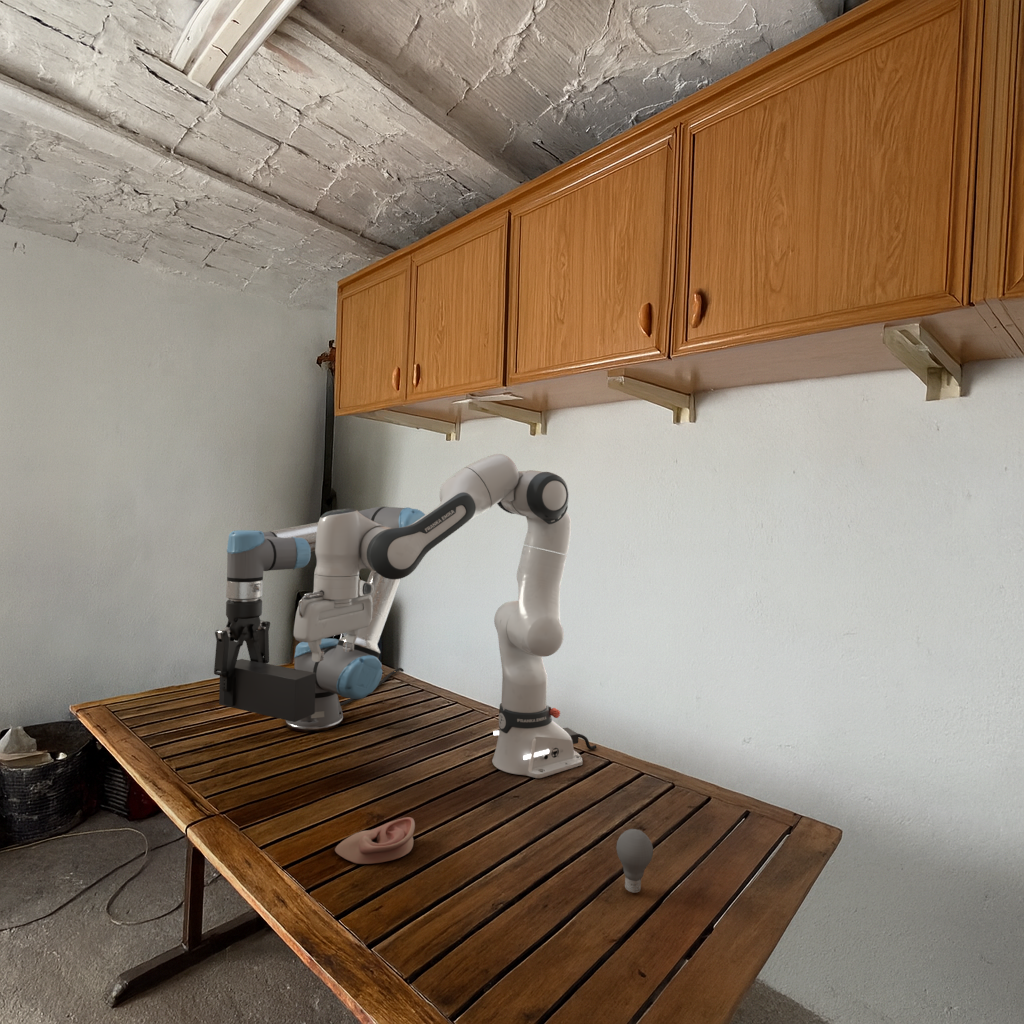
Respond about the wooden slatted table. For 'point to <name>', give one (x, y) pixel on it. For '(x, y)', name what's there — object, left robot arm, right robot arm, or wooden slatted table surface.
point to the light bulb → (634, 857)
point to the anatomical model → (379, 843)
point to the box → (273, 690)
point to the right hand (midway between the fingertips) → (333, 656)
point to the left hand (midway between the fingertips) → (241, 700)
